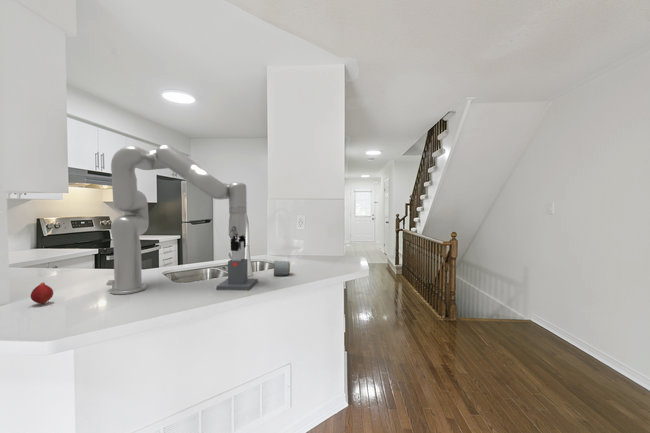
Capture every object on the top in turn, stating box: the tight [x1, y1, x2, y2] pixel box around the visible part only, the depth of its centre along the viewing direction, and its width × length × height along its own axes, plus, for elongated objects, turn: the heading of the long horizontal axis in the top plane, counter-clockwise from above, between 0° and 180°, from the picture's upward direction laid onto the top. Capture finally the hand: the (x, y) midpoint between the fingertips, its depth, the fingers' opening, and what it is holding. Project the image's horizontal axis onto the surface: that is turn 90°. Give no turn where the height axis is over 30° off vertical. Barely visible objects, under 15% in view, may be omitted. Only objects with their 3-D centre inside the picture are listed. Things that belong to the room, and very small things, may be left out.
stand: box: [215, 258, 259, 291], centre depth 133 cm, size 14×14×12 cm
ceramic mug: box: [273, 260, 291, 277], centre depth 155 cm, size 11×8×8 cm
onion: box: [30, 281, 54, 305], centre depth 106 cm, size 6×6×8 cm
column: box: [231, 241, 245, 261], centre depth 133 cm, size 4×4×18 cm
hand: (238, 249), depth 133 cm, fingers open, 9 cm apart
